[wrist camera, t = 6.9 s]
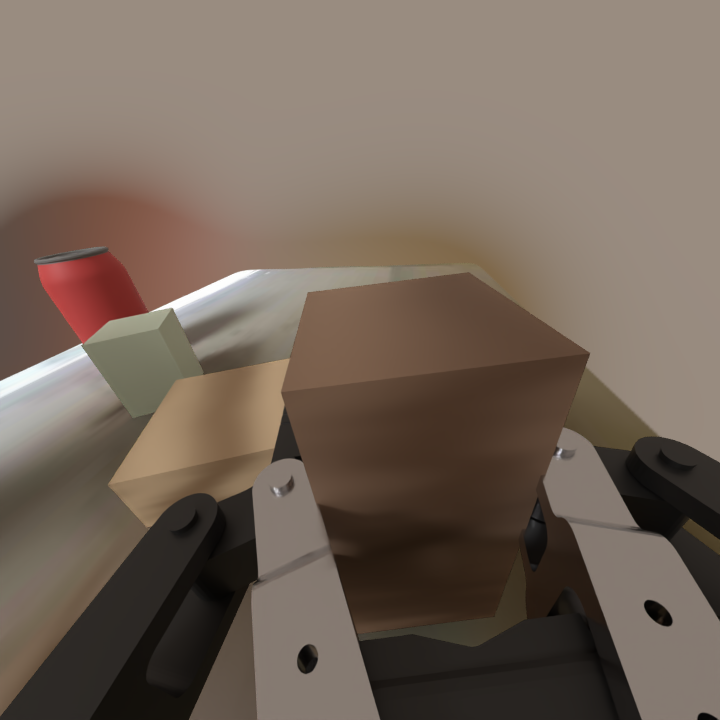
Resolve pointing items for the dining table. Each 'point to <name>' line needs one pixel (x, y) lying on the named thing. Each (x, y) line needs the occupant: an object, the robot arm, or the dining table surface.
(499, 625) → the dining table surface
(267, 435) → the oak base block
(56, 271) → the beer can
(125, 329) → the sage green block
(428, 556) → the walnut pillar
